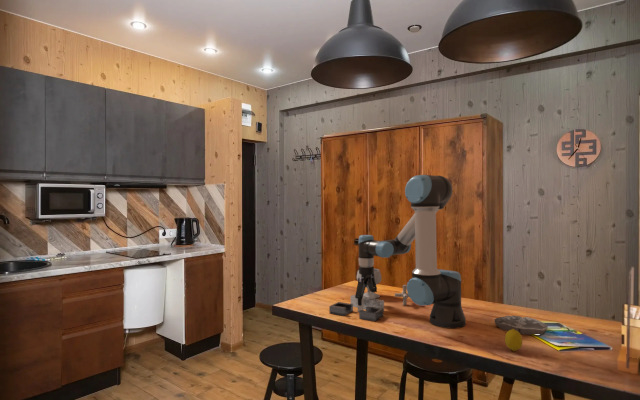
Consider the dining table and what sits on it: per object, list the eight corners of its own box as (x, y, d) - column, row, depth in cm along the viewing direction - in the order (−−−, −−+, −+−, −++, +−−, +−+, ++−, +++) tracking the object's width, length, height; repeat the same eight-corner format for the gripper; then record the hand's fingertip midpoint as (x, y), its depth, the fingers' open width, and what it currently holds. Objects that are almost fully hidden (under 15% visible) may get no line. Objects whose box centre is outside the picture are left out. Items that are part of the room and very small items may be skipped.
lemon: (504, 352, 135) (503, 329, 135) (506, 347, 139) (506, 325, 139) (521, 355, 131) (521, 332, 131) (523, 350, 136) (523, 328, 136)
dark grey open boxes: (383, 316, 178) (383, 308, 178) (375, 321, 170) (375, 313, 170) (338, 308, 190) (338, 301, 190) (329, 313, 183) (329, 306, 183)
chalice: (372, 301, 204) (371, 273, 204) (351, 296, 213) (351, 270, 213) (386, 296, 214) (386, 269, 214) (366, 292, 224) (366, 266, 224)
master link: (384, 311, 185) (383, 300, 185) (379, 313, 183) (379, 301, 183) (354, 305, 198) (354, 294, 198) (350, 306, 195) (350, 295, 195)
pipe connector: (413, 302, 201) (413, 283, 201) (416, 307, 191) (415, 287, 191) (394, 301, 202) (393, 283, 202) (396, 307, 192) (395, 287, 192)
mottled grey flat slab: (548, 327, 161) (548, 320, 161) (546, 339, 146) (546, 332, 146) (498, 319, 171) (498, 313, 171) (491, 330, 157) (491, 323, 157)
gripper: (370, 261, 203) (370, 301, 203) (347, 269, 182) (348, 313, 182) (383, 262, 199) (383, 303, 199) (362, 270, 178) (362, 315, 178)
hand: (366, 308), depth 191 cm, fingers open, 13 cm apart
